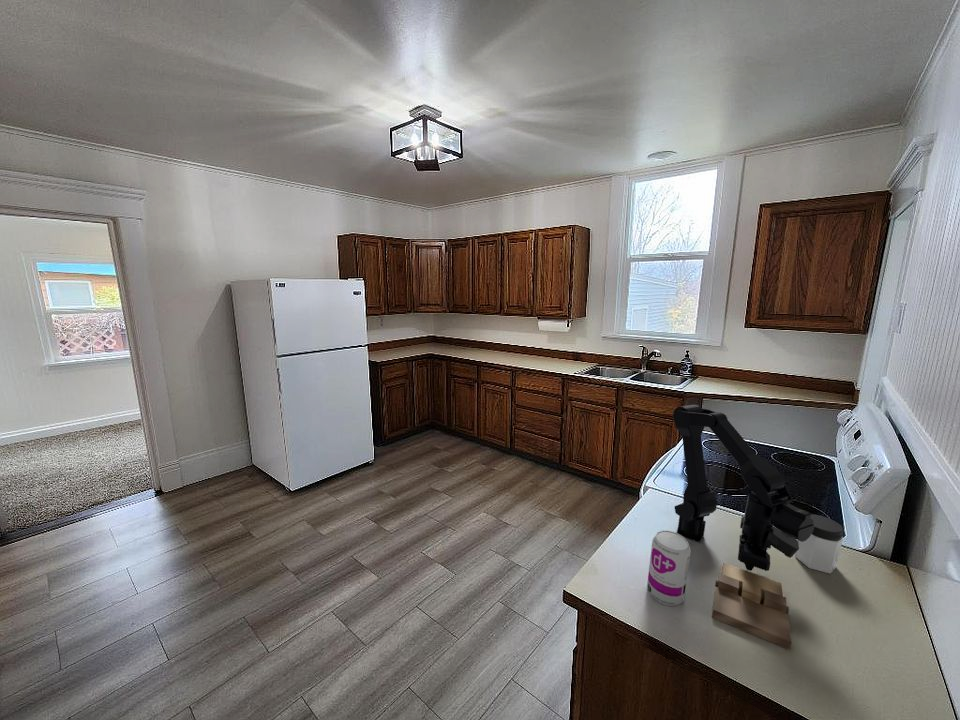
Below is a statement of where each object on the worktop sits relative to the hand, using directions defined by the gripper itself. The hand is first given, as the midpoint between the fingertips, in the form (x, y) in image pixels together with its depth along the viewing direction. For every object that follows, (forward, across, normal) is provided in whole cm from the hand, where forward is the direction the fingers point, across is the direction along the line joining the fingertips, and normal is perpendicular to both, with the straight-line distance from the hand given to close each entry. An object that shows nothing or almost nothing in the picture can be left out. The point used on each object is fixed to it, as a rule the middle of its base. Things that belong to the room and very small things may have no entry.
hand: (748, 569), depth 101 cm
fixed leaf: (+1, -15, 0) cm, 15 cm away
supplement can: (+2, -20, +16) cm, 26 cm away
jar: (+2, +16, -15) cm, 22 cm away
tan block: (+1, -9, 0) cm, 9 cm away
